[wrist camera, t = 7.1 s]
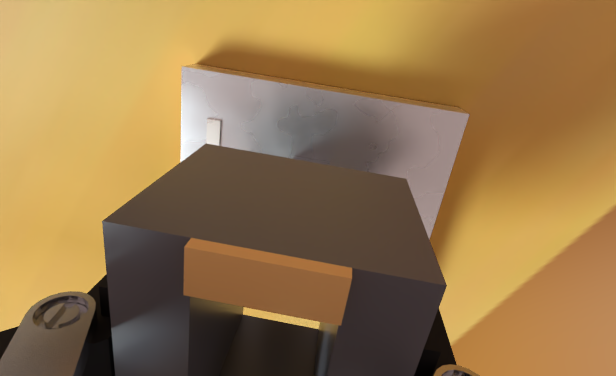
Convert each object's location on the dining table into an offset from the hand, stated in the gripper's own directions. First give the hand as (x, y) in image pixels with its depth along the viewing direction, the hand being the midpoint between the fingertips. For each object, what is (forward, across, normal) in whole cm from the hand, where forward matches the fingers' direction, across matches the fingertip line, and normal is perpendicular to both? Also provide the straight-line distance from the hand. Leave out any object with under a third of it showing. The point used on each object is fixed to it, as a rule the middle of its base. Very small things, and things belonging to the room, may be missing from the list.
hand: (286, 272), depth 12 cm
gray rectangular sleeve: (+1, 0, 0) cm, 1 cm away
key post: (+7, 0, 0) cm, 7 cm away
